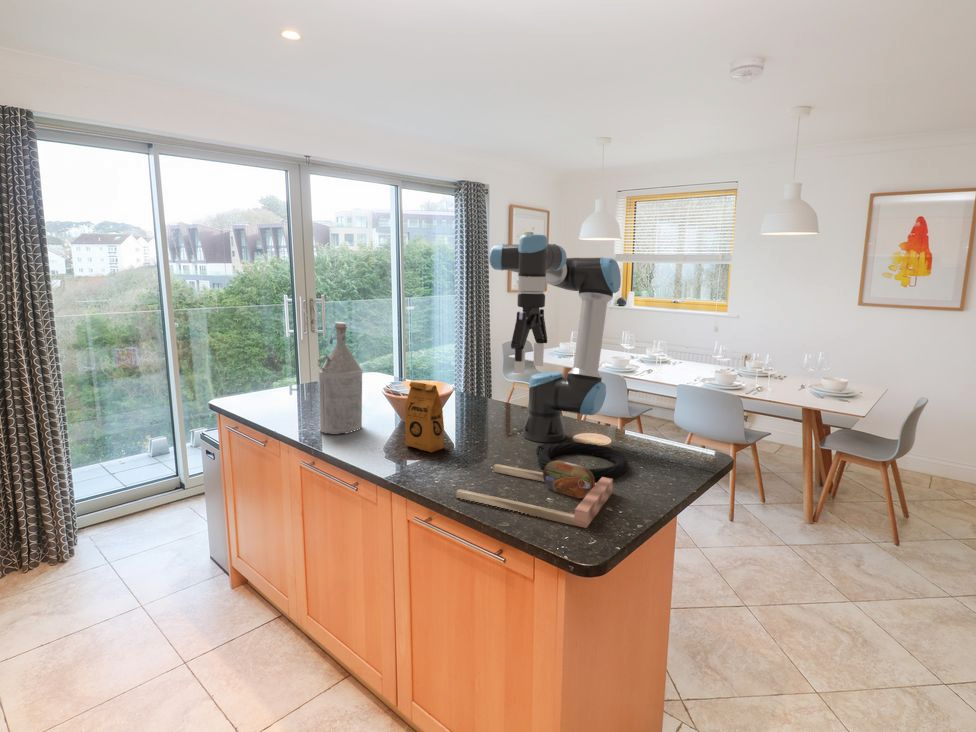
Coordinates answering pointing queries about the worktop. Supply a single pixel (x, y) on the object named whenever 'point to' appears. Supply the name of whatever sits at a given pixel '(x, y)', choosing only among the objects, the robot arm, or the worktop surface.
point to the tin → (568, 478)
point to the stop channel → (580, 518)
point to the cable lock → (566, 448)
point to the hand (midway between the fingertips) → (529, 369)
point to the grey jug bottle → (340, 388)
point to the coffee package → (424, 418)
